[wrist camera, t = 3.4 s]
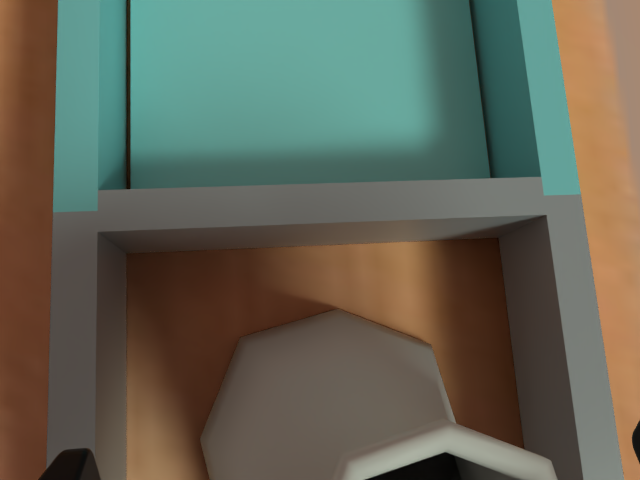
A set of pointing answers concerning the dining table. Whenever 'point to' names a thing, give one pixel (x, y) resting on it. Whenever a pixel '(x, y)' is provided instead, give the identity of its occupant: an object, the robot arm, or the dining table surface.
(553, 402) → the tray
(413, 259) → the dining table surface
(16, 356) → the dining table surface
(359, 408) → the flask
